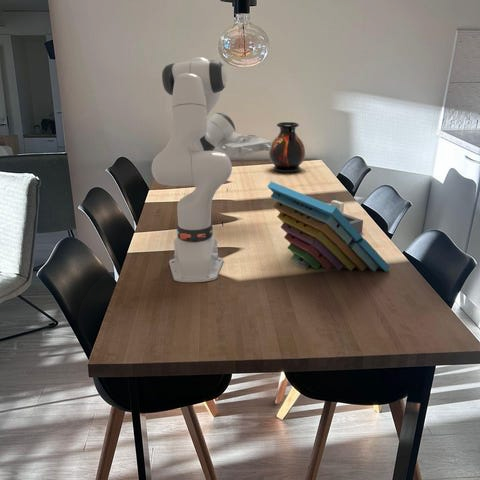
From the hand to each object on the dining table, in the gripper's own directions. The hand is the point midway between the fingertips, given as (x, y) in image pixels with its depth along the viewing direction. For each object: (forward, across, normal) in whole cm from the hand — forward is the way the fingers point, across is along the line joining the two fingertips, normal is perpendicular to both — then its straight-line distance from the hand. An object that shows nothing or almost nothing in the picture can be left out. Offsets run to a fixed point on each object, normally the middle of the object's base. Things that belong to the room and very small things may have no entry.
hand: (260, 150), depth 194 cm
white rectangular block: (+24, +20, +31) cm, 44 cm away
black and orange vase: (-69, +74, +32) cm, 106 cm away
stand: (+24, +20, +32) cm, 45 cm away
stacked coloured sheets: (+42, -3, +32) cm, 53 cm away
